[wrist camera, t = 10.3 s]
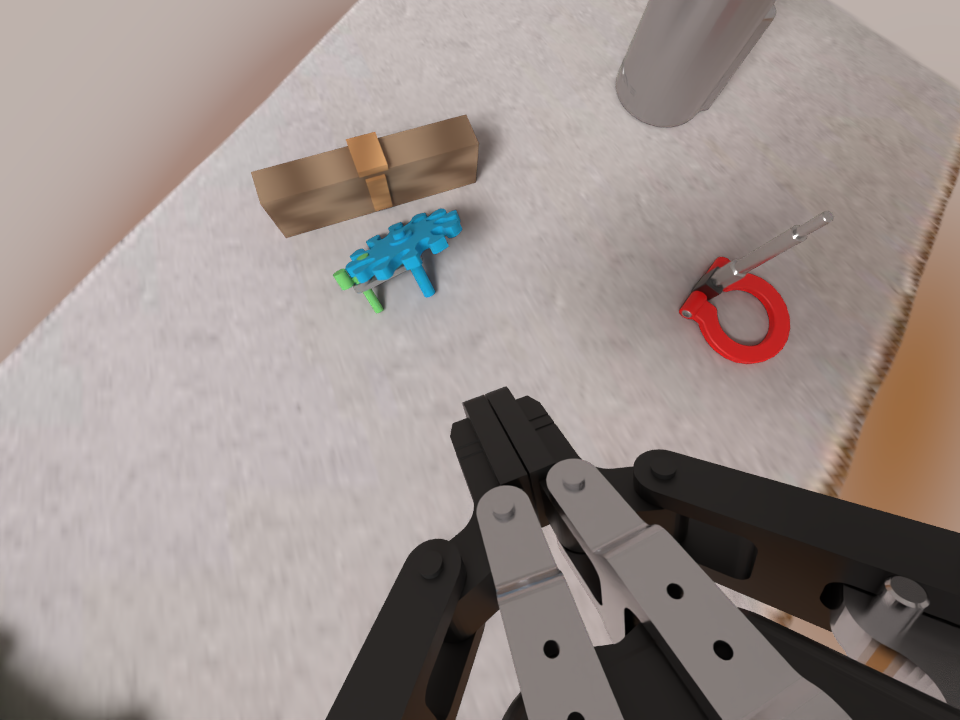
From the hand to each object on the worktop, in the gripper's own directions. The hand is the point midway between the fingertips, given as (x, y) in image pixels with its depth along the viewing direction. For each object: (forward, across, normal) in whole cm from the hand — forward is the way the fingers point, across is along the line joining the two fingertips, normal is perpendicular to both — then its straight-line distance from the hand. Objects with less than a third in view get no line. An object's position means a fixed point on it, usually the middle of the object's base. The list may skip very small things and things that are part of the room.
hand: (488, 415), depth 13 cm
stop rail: (+32, 0, -2) cm, 32 cm away
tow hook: (+16, -27, +14) cm, 34 cm away
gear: (+26, 0, +4) cm, 27 cm away
